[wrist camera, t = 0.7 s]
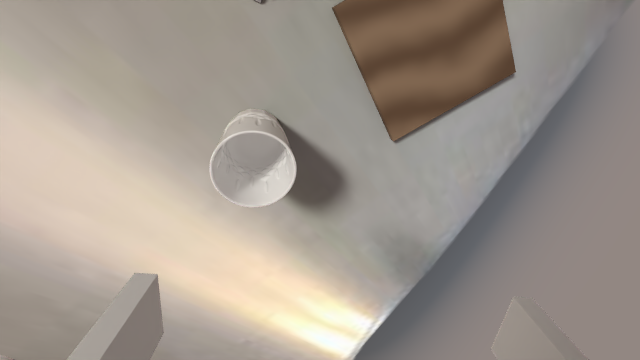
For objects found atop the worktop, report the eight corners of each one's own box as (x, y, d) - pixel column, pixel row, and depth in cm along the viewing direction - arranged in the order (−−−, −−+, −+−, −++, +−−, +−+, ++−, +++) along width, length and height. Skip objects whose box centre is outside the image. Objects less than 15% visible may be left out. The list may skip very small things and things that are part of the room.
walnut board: (331, 7, 33) (333, 7, 32) (479, -84, 31) (486, -87, 30) (390, 138, 41) (393, 141, 40) (510, 70, 39) (515, 71, 38)
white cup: (275, 173, 40) (279, 216, 32) (213, 154, 38) (199, 195, 29) (297, 116, 37) (309, 147, 29) (232, 92, 35) (223, 117, 26)
